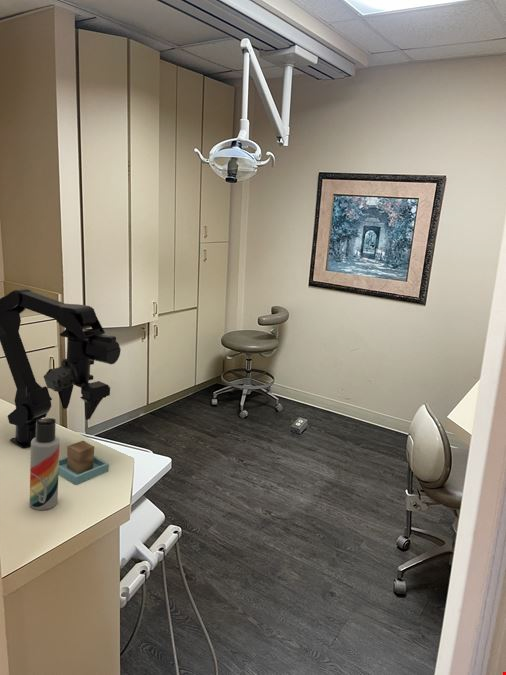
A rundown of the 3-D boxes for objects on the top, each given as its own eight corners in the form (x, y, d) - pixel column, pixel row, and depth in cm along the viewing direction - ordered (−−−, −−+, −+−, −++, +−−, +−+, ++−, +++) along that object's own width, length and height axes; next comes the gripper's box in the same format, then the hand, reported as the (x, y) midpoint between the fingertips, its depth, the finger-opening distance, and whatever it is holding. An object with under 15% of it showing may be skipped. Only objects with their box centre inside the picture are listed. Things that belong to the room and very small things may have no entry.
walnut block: (81, 462, 128) (82, 440, 127) (93, 468, 126) (94, 446, 124) (66, 467, 125) (67, 445, 123) (78, 474, 122) (79, 452, 121)
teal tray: (51, 469, 124) (51, 462, 123) (84, 457, 132) (84, 450, 131) (75, 484, 119) (75, 477, 118) (108, 470, 127) (108, 463, 126)
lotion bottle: (29, 512, 107) (31, 425, 102) (29, 497, 112) (31, 414, 107) (58, 508, 109) (61, 423, 104) (56, 494, 114) (59, 413, 109)
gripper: (27, 351, 124) (26, 410, 127) (74, 371, 114) (72, 434, 118) (66, 345, 133) (64, 400, 137) (113, 363, 123) (109, 422, 127)
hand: (76, 413), depth 129 cm, fingers open, 9 cm apart
